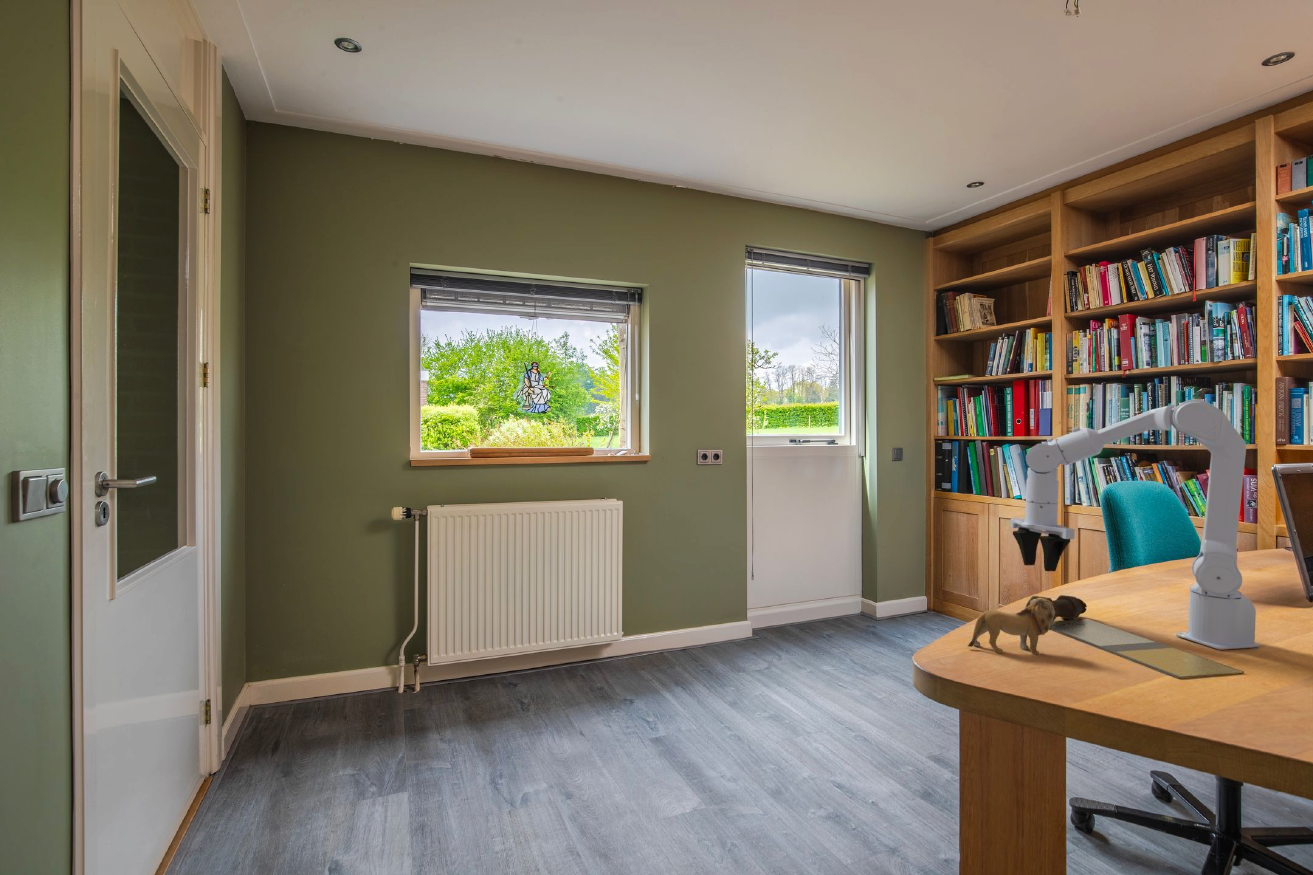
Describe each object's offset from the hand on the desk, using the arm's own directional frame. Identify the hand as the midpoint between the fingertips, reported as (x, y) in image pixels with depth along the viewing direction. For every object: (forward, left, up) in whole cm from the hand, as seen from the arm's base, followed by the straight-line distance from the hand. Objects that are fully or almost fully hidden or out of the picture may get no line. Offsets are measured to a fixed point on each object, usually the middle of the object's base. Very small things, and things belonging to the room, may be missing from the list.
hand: (1039, 567), depth 134 cm
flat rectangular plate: (0, +20, -9) cm, 22 cm away
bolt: (0, +6, -9) cm, 11 cm away
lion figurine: (+22, +18, -10) cm, 30 cm away
